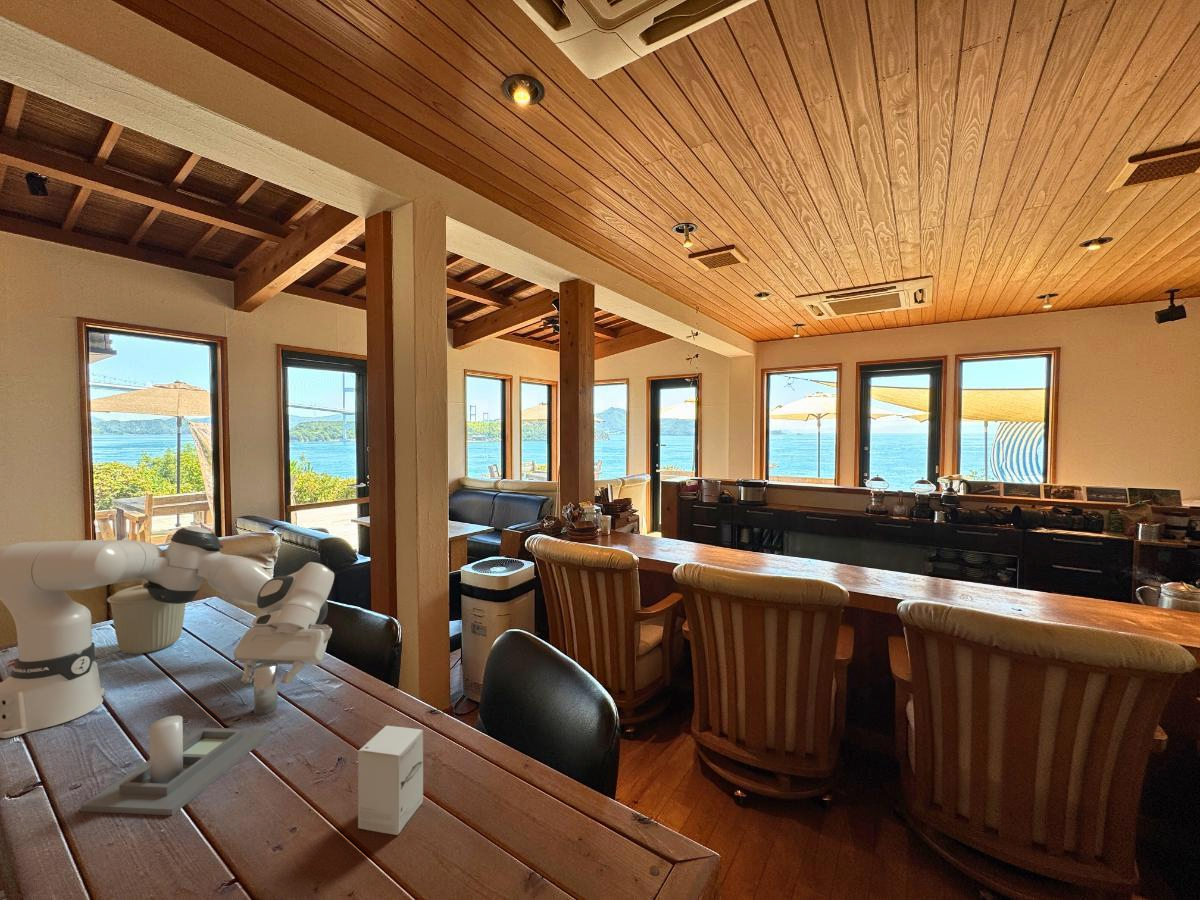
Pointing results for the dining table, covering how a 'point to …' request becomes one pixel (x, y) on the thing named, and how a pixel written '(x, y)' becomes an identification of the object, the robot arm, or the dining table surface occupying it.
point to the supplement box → (390, 779)
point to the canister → (144, 620)
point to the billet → (265, 688)
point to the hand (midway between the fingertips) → (265, 682)
